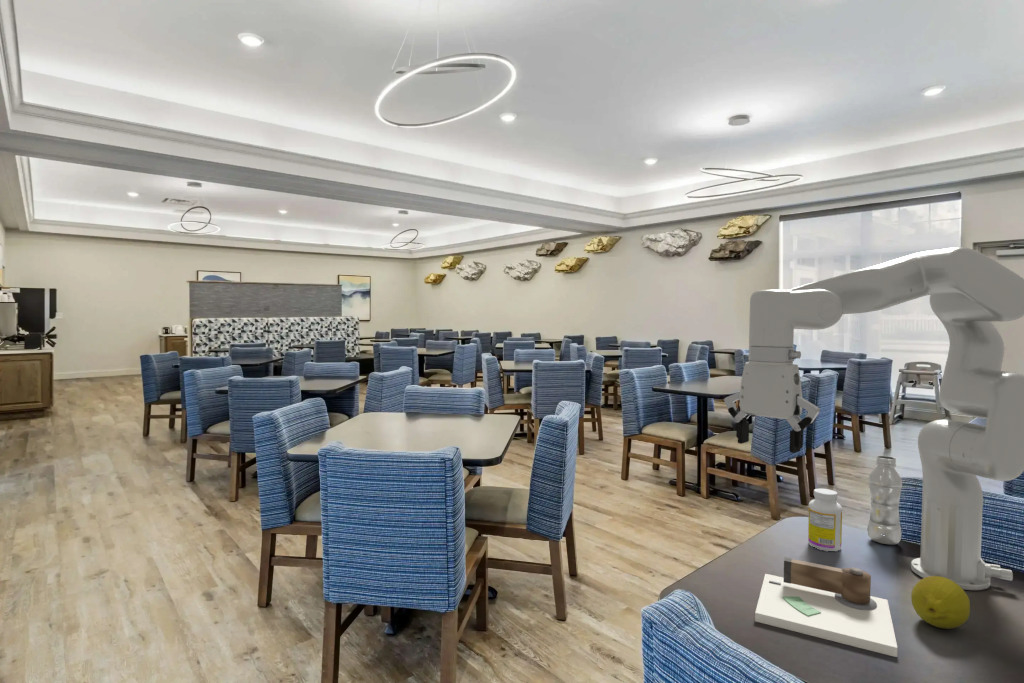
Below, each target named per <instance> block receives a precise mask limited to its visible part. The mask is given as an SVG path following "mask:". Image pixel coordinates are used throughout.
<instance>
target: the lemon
mask: <svg viewBox="0 0 1024 683" xmlns="http://www.w3.org/2000/svg"><path fill="white" fill-rule="evenodd" d="M910 598H911V605H912V607H913V609H914V611H915V613H916V614H917V615H918V616H919V617H920V619H922V620H923V621H925V623H928V624H929V625H931V626H934V627H936V628H940V629H946V630H947V629H948V630H949V629H956V628H959V627H961V626H962V625H964V624H965V623H966V622H967V621H968V619H969V617H970V615H971V614H970V613H971V606H970V605H971V604H970V603H971V602H970V599H969V596H968V595H967V593H966V592H965V590H964V589H962V588H961V587H960V586H959V585H958V584H956V583H955V582H953V581H952V580H950V579H947V578H945V577H941V576H929V577H926V578H923V577H922V578H921V579H920V580H918V582H916V583H915V585H914V586H913V587H912V589H911V593H910Z"/></svg>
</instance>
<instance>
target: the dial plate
mask: <svg viewBox="0 0 1024 683" xmlns="http://www.w3.org/2000/svg"><path fill="white" fill-rule="evenodd" d="M759 592H760V593H759V598H758V600H757V603H756V604H757V605H756V609H755V612H754V613H755V614H754V622H756V623H760V624H763V625H768V626H772V627H776V628H780V629H785V630H788V631H792V632H795V633H796V632H797V633H800V634H803V635H807V636H810V637H811V636H812V637H815V638H818V639H819V638H820V639H824V640H828V641H831V642H835V643H838V644H839V643H840V644H843V645H847V646H850V647H854V648H858V649H863V650H866V651H870V652H874V653H878V654H882V655H886V656H889V657H890V656H891V657H895V658H898V643H897V640H896V634H895V629H894V624H893V621H892V616H891V611H890V610H891V609H890V606H889V600H888V599H884V598H881V597H877V596H872V595H870V603H868V604H858V603H854V602H851V601H848V600H846V599H844V598H843V597H842V596H841V594H838V593H833V592H829V591H824V590H819V589H815V588H810V587H805V586H801V585H796V584H792V583H791V584H790V583H785V582H784V576H778V575H774V574H768V573H764V578H763V582H762V585H761V589H760V591H759Z"/></svg>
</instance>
